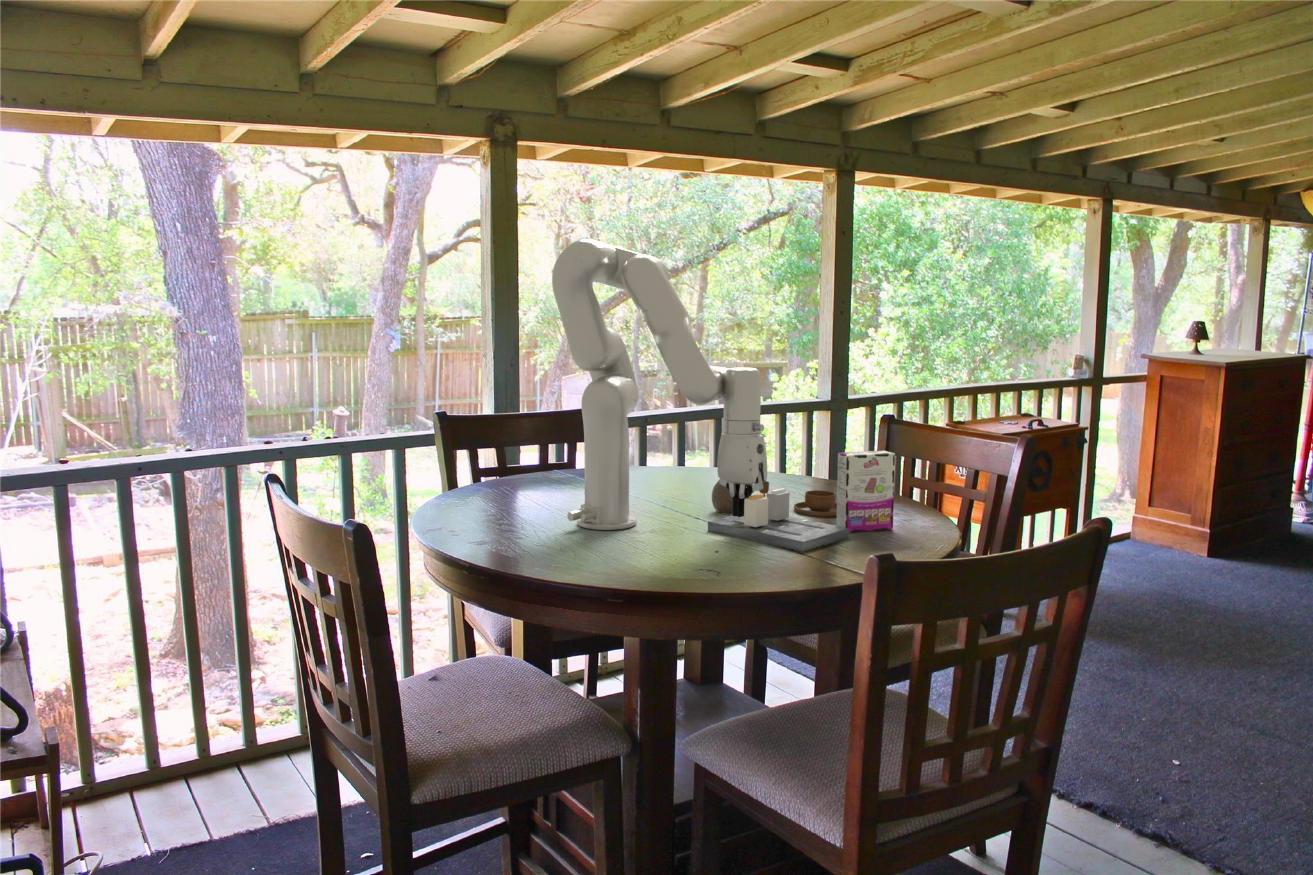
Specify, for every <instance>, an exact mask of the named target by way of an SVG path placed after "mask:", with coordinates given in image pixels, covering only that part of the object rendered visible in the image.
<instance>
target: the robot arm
mask: <svg viewBox="0 0 1313 875" xmlns="http://www.w3.org/2000/svg"><path fill="white" fill-rule="evenodd" d="M556 258H557V259H556V260H555V263H554V265H553V268H552V274H551V284H552V290H553V296H554V298H555V302H556V305H557V309H558V311H559V315H560V318H561V323H562V326H563V331H564V333H565V336H566V340H567V343H568V347H569V350H570V353H571V358H572V360H573V361H574V363H575V365H576V366H577V367H578V368H579V369H580V370H582V371H583V372H584V371H585V372H589V375H590V377H591V382H589V383H588V384H587V386H586V387H585V389H584V391H583V393H582V396H581V402H580V403H581V415H582V422H583V423H582V424H583V435H584V436H583V437H584V438H583V440H584V446H583V447H584V448H583V449H584V450H583V451H584V503H583V504H582V503H581V504H580V508H579V509H578V510H572V511H569V512H567V517H566V518H567V520H568V521H569V522H573V521H577V525H578V526H579V527H580V528H581V527H582V528H585V529H590V530H597V531H598V530H599V531H616V530H624V529H628V528H632V527H634V526H635V525H637V518H636V517H635V516H633V515H631V514H630V430H629V422H628V420H629V419H628V415H629V414H630V413H632V412H633V411H634V410H635V408H636V407H637V405H638V402H639V397H640V396H639V395H640V394H639V392H640V391H639V387H638V384H637V379H636V377H635V376H636V375H635V372H634V370H633V367H632V363H631V361H630V357H629V353H628V351H627V350H628V349H627V347H626V345H625V342H624V341H623V339H622V337H621V336H620V334H619V333H618V332H617V331H616V330H614V329H613V328H611V327H608V326H607V325H606V322H605V319H604V317H603V314H602V309H601V305H600V303H599V300H598V297H597V296H596V293H595V291H594V286H593V284H594V283H599V284H602V285H606V286H610V287H613V288H616V289H619V290H622V291H626V292H627V293H628V295H629V297H630V299H631V301H632V302H633V304H634V305H635V307H636V309H637V311H638V312H639V314H640V316H641V317H642V319H643V320H644V322H645V324H646V326H647V327H648V329H649V331H650V333H651V335H652V337H653V339H654V343H655V344H656V347H657V349H658V350H659V353H660V356H661V358H662V359H663V362H664V364H665V366H666V368H667V370H668V371H669V373H670V375H671V377H672V379H673V381H674V382H675V383H676V386H677V387H678V389H679V390H680V392H681V393H682V395H683V396H684V397H685V398H686V399H687V401H688V402H690V403H692V404H694V405H698V406H704V405H708V404H710V403H712V402H716V401H721V400H723V429H722V430H723V432H722V433H721V434H720V435H721V436H720V439H719V445H718V451H717V452H718V453H717V463H716V464H717V465H716V466H717V470H716V471H717V478H718V480H719V479H720V480H719V483H720V484H721V485H723V486H725V487H727V489H728V490H729V491H730V496H731V497H733V513H732V515H733V516H737V517H743V516H744V502H745V498H749V496H753V495H752V494H754V492H759V490H763V482H765V481H767V480H768V457H767V456H768V455H767V448H766V447H767V446H766V440H765V436H764V435H762V434H761V432H762V431H764V429H765V425H764V424H762V423H761V407H762V406H761V403H762V402H761V401H762V400H761V399H762V398H761V396H762V389H761V388H762V374H761V371H760V370H759V369H758V368H756V367H750V366H749V367H748V366H747V367H745V366H744V367H742V366H735V367H722V366H716V365H709V364H708V362H707V360H706V358H705V357H704V355H703V353H702V352H701V350H700V348H699V346H698V343H697V342H696V339H695V338H694V334H693V330H692V322H691V317H690V315H689V312H688V311H687V309H686V307H685V306H684V304H683V302H682V300H681V299H680V297H679V295H678V294H677V292H676V291H675V289H674V287H673V286H672V284H671V282H670V273H669V269H668V267H667V265H666V264H665V263H664V261H662V260H661V259H660V258H658V257H656V256H652V255H649V254H644V253H639V252H635V251H632V250H628V249H625V248H622V247H618V246H615V245H612V244H610V243H606V242H602V241H599V240H595V239H591V238H580V239H577V240H575V241H573V242H571V243H570V244H568V245H567V246H566V247H565V248H564V249H563V250H562V251H561V252H560V253H559V255H558V257H556Z"/></svg>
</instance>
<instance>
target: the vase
mask: <svg viewBox="0 0 1313 875" xmlns="http://www.w3.org/2000/svg"><path fill="white" fill-rule="evenodd" d="M719 480H720V478H718V480H717V482H716V483H715V484H714V486H713V488H712V491H711V503H712V506H713V508H714V509H715V510H716V512H717V513H719V514H724V515H725V514H726V515H728V514H730V515H731V514H732V515H733V497H731V496H730V491H729V490H728V489H727V487H725V486H723V485H721V484H720V483H719Z"/></svg>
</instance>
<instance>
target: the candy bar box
mask: <svg viewBox="0 0 1313 875" xmlns="http://www.w3.org/2000/svg"><path fill="white" fill-rule="evenodd" d="M895 461H896V453H895V452H891V451H889V450H888V451H887V450H873V451H872V450H867V451H866V450H865V451H850V452H849V451H848V452H838V453H837V477H836V478H837V480H836V481H837V482H836V484H837V487H836V503H837V509H836V511H837V516H836V526H841V527H846V528H849V533H862V532H863V533H864V532H875V531H877V532H878V531H891V530H894V504H895V503H894V502H895V500H894V498H895V467H896V466H895V465H896V464H895Z"/></svg>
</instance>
